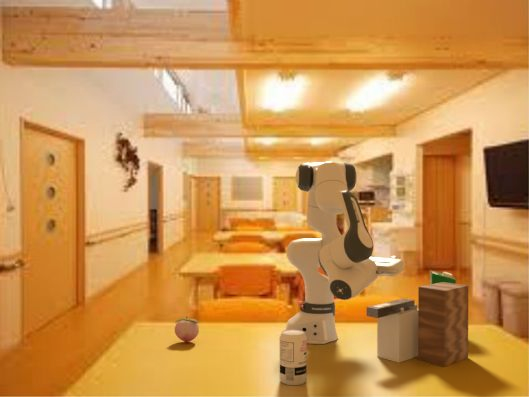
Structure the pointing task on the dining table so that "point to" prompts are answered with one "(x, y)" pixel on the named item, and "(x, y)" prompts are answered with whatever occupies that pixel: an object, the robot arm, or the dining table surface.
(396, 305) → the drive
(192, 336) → the decorative fruit
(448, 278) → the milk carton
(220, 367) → the dining table surface
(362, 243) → the robot arm
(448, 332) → the stand
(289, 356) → the supplement can
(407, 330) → the dock
